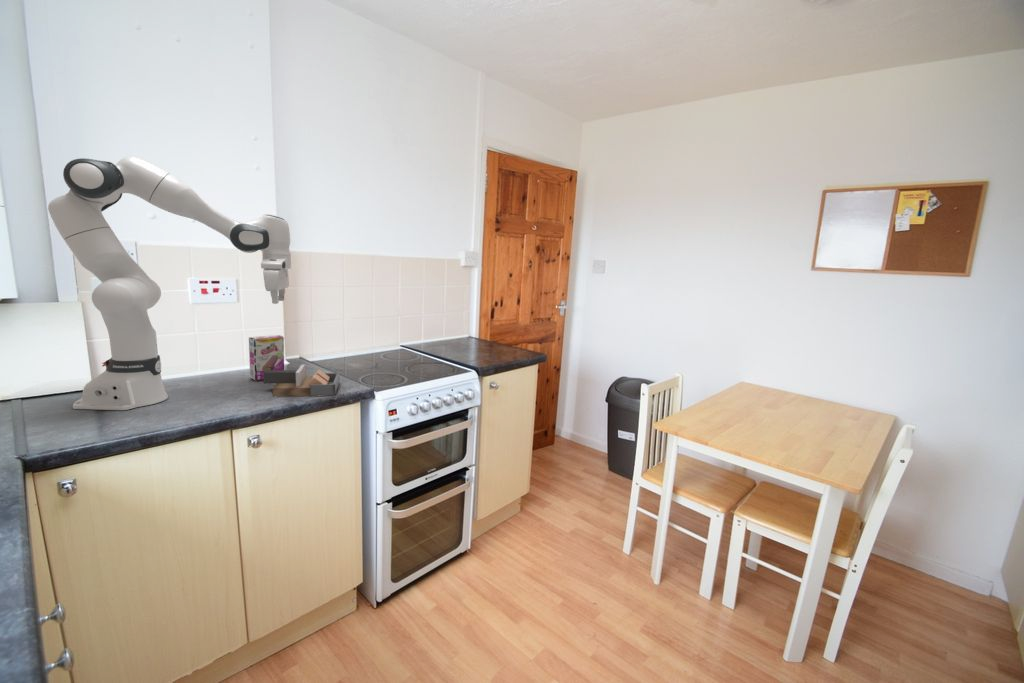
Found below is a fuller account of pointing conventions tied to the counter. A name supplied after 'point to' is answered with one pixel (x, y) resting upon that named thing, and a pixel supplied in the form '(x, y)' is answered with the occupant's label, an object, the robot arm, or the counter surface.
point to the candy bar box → (265, 355)
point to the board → (293, 388)
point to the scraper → (285, 376)
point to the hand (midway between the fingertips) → (278, 302)
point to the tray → (326, 386)
